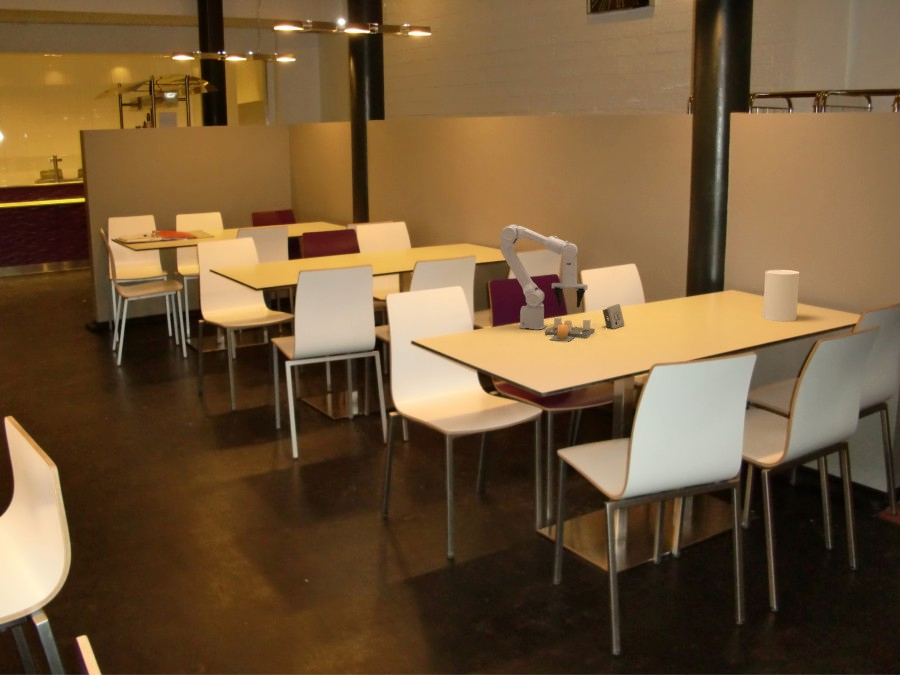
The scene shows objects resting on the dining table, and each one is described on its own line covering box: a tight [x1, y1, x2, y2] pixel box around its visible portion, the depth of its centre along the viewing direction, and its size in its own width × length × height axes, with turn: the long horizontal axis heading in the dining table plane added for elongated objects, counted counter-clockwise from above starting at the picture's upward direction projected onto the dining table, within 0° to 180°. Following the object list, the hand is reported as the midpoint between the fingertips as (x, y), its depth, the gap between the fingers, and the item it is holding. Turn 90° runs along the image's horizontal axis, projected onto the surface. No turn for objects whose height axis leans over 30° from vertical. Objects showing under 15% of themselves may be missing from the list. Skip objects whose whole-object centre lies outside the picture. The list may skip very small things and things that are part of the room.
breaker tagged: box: [563, 319, 573, 332], centre depth 363 cm, size 2×2×4 cm
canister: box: [762, 269, 800, 323], centre depth 388 cm, size 14×14×20 cm
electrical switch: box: [602, 303, 625, 330], centre depth 378 cm, size 9×5×9 cm, turn 141°
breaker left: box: [553, 316, 563, 328], centre depth 371 cm, size 2×2×4 cm
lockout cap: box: [557, 323, 568, 339], centre depth 357 cm, size 4×4×5 cm
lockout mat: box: [548, 335, 576, 343], centre depth 357 cm, size 8×8×1 cm
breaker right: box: [582, 318, 591, 330], centre depth 366 cm, size 2×2×4 cm
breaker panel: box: [544, 325, 596, 339], centre depth 366 cm, size 17×12×2 cm
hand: (569, 306), depth 374 cm, fingers open, 7 cm apart
